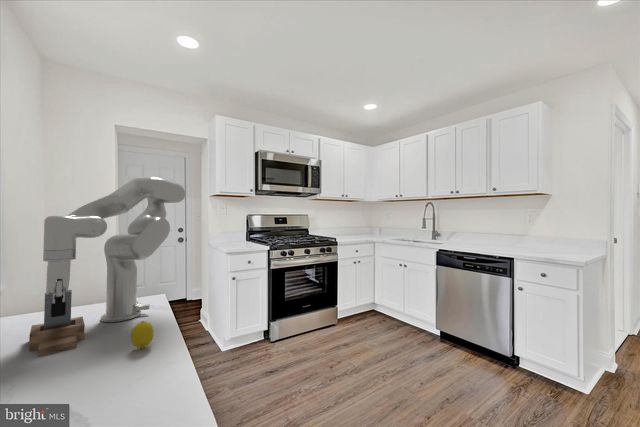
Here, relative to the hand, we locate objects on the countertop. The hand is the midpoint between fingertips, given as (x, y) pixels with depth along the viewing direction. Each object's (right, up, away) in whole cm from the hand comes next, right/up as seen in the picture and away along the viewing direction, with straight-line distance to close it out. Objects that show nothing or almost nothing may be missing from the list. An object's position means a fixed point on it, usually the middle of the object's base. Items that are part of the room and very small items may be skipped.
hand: (58, 313), depth 87 cm
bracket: (0, -3, 0) cm, 3 cm away
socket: (0, -8, 0) cm, 8 cm away
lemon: (+30, -8, -6) cm, 32 cm away
